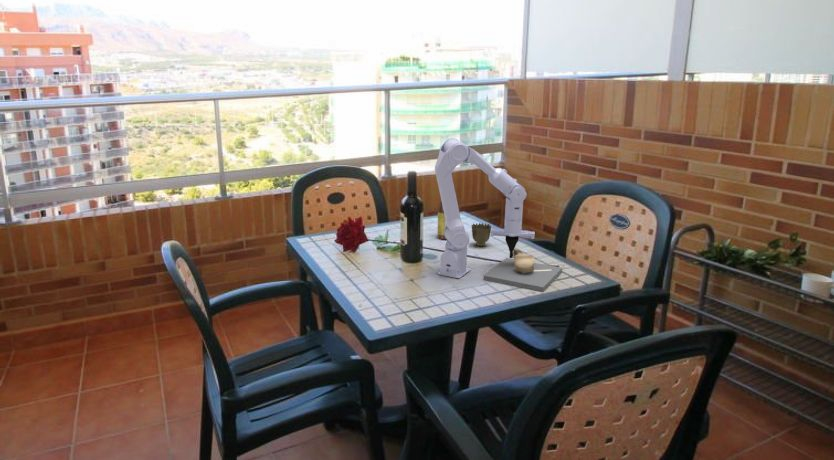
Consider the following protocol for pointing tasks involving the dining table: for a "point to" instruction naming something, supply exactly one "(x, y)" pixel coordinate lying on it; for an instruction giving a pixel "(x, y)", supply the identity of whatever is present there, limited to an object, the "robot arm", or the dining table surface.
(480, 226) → the cup
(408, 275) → the dining table surface
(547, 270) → the base plate
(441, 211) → the sauce bottle
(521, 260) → the beige rounded piece
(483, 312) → the dining table surface
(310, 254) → the dining table surface
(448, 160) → the robot arm
